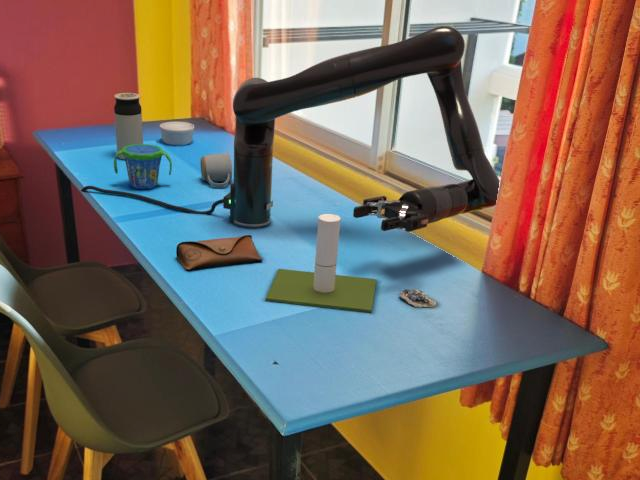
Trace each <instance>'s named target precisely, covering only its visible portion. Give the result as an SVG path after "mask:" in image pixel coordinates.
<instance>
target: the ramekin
mask: <svg viewBox="0 0 640 480" xmlns="http://www.w3.org/2000/svg"><path fill="white" fill-rule="evenodd" d="M159 130H160V135H161V140H162V142H163V143H164V144H166V145H170V146H186V145H190V144H191V143H192V142H193V137H194V130H195V125H194V124H193V123H190V122H187V121H166V122H162V123H160V124H159Z"/></svg>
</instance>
